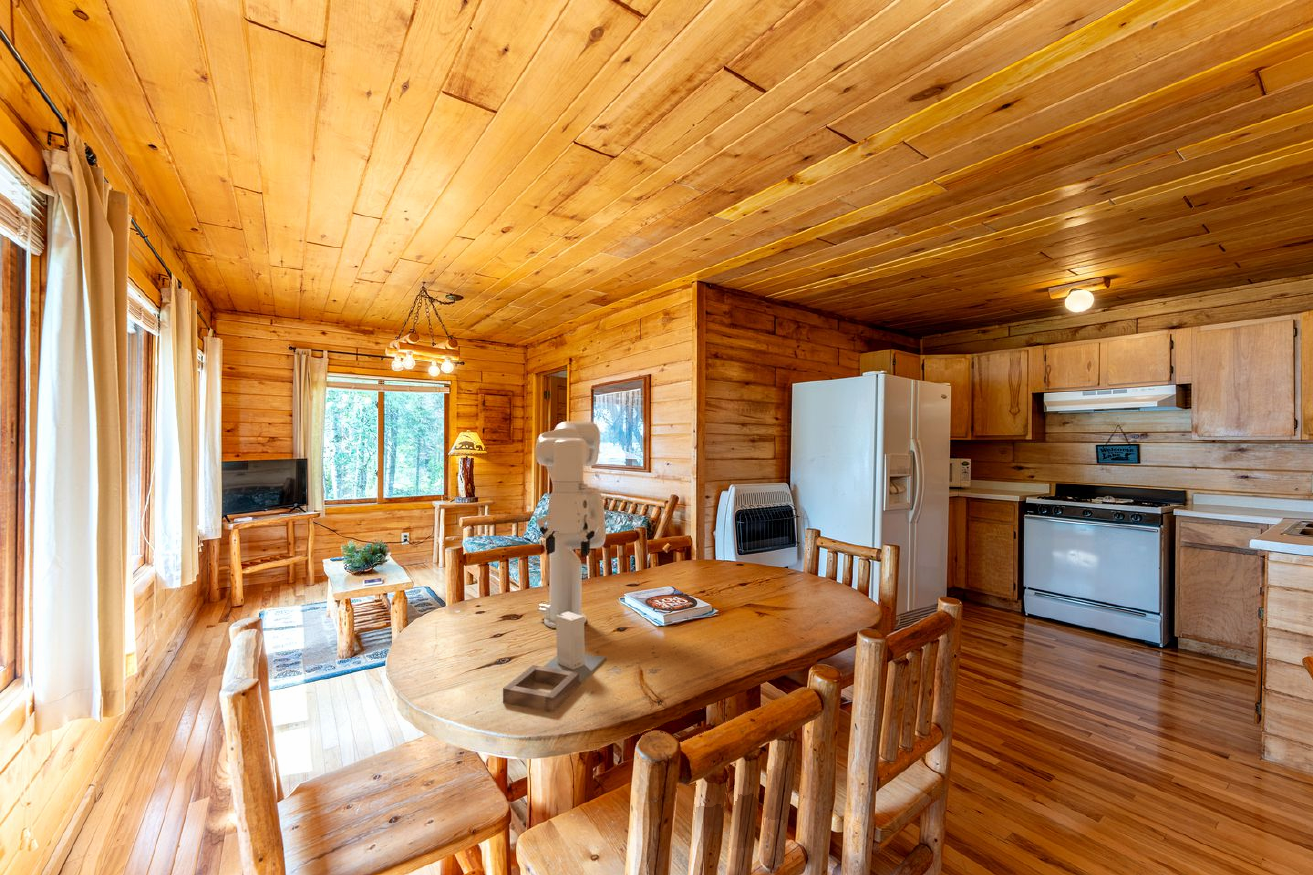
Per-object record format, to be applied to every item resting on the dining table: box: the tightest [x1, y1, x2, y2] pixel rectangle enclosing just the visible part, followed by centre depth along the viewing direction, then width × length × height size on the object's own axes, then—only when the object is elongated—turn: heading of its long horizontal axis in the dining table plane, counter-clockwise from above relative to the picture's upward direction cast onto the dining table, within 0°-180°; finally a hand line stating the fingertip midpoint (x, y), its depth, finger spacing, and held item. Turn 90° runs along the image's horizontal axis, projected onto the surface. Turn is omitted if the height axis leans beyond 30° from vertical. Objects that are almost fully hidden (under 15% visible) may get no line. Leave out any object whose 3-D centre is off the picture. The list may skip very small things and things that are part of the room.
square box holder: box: [502, 664, 580, 713], centre depth 119 cm, size 12×12×3 cm
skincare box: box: [555, 611, 586, 670], centre depth 133 cm, size 6×4×12 cm
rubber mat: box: [542, 653, 607, 685], centre depth 133 cm, size 12×14×1 cm
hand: (567, 554), depth 138 cm, fingers open, 9 cm apart
